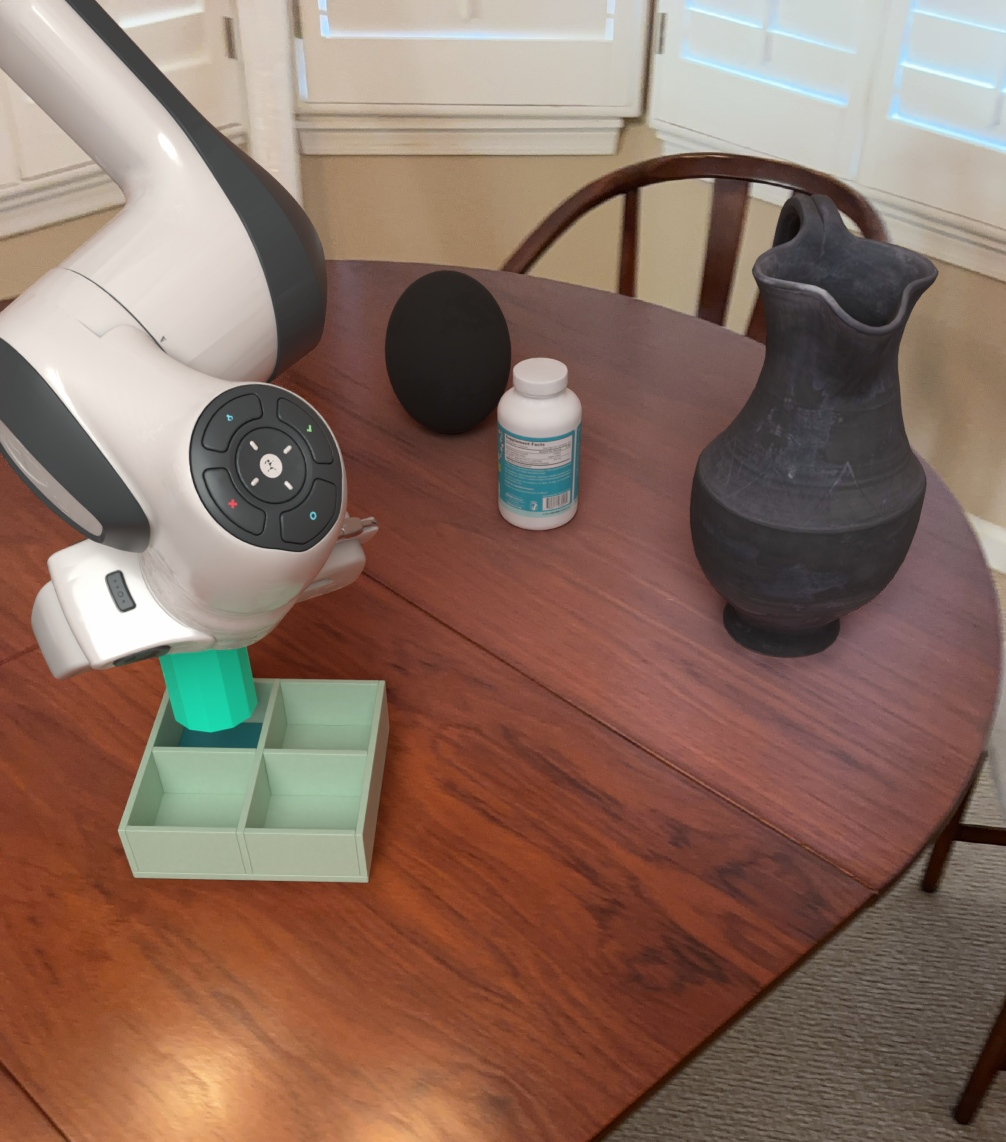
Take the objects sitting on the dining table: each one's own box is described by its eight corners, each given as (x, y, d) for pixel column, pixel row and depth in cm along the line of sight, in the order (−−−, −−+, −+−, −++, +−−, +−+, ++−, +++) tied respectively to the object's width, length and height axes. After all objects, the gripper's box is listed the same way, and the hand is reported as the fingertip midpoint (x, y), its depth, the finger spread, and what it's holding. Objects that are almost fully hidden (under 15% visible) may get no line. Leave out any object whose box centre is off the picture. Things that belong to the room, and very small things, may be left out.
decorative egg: (520, 404, 124) (522, 252, 113) (499, 463, 116) (499, 305, 105) (405, 394, 126) (396, 243, 115) (377, 452, 118) (364, 295, 106)
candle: (205, 669, 86) (170, 521, 77) (274, 692, 84) (247, 543, 75) (154, 717, 82) (111, 567, 73) (225, 742, 81) (190, 591, 72)
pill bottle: (522, 484, 114) (524, 342, 104) (590, 504, 111) (599, 361, 101) (482, 520, 109) (481, 376, 99) (553, 542, 107) (558, 397, 97)
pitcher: (705, 698, 92) (770, 299, 70) (643, 552, 106) (681, 179, 84) (916, 676, 94) (1045, 281, 72) (828, 535, 108) (914, 166, 85)
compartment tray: (133, 878, 80) (117, 830, 76) (182, 724, 90) (169, 676, 87) (368, 883, 79) (362, 835, 76) (389, 728, 90) (385, 680, 86)
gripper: (365, 462, 69) (315, 533, 82) (16, 563, 62) (21, 623, 75) (406, 565, 70) (349, 620, 83) (66, 677, 63) (62, 717, 76)
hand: (191, 622), depth 79 cm, fingers closed on candle, 5 cm apart
